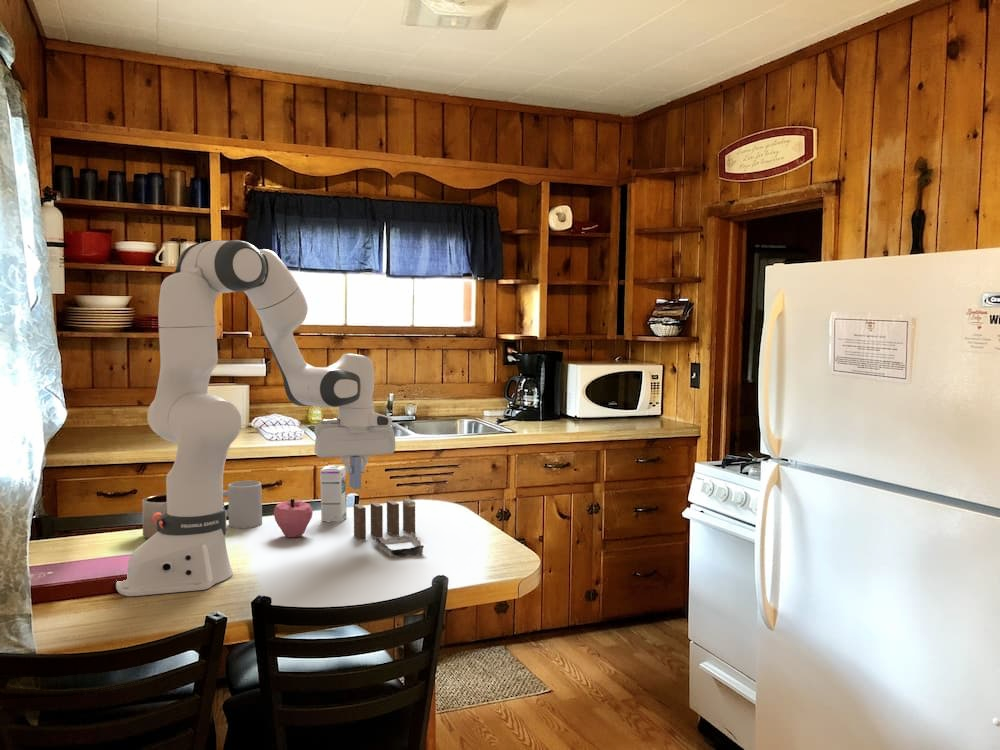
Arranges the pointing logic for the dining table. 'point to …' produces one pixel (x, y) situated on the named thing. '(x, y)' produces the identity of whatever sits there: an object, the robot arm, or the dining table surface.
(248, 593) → the dining table surface
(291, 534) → the apple
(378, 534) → the domino
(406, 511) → the domino
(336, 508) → the syrup box
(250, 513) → the mug
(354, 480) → the domino
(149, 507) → the planter
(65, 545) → the dining table surface
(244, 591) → the dining table surface
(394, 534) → the domino
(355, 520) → the domino
